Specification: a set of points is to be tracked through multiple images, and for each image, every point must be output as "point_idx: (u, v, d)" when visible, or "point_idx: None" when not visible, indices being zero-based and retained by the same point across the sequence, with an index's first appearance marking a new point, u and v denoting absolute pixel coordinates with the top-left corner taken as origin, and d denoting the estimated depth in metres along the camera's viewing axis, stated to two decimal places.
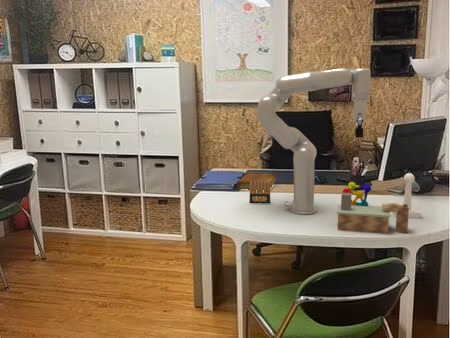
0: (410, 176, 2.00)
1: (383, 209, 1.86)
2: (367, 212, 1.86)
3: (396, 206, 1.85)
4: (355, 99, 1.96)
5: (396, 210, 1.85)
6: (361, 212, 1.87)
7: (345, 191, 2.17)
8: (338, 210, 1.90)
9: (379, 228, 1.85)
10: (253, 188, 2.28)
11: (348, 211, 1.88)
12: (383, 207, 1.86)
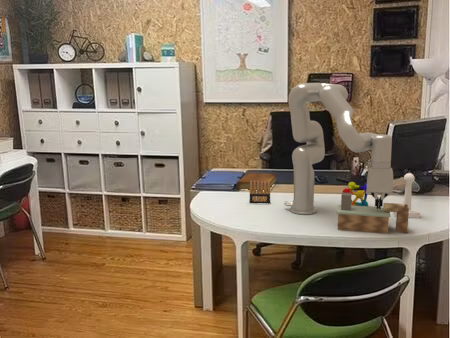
0: (410, 176, 2.00)
1: (384, 209, 1.86)
2: (367, 212, 1.86)
3: (397, 206, 1.84)
4: (388, 168, 1.82)
5: (397, 210, 1.85)
6: (361, 212, 1.87)
7: (345, 191, 2.17)
8: (338, 210, 1.90)
9: (379, 228, 1.85)
10: (253, 188, 2.28)
11: (348, 211, 1.88)
12: (384, 207, 1.86)
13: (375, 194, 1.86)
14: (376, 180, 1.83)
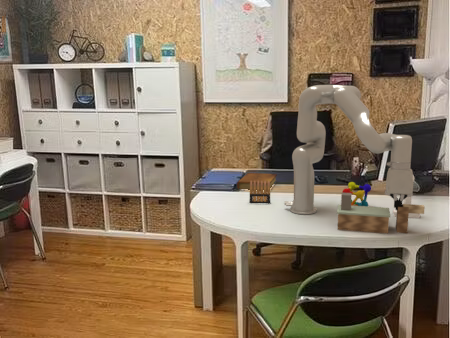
0: None
1: None
2: (367, 212, 1.86)
3: (417, 207, 1.82)
4: (408, 169, 1.79)
5: (417, 211, 1.83)
6: (361, 212, 1.87)
7: (345, 191, 2.17)
8: (338, 210, 1.90)
9: (379, 228, 1.85)
10: (253, 188, 2.28)
11: (348, 211, 1.88)
12: None
13: (394, 195, 1.84)
14: (395, 181, 1.81)
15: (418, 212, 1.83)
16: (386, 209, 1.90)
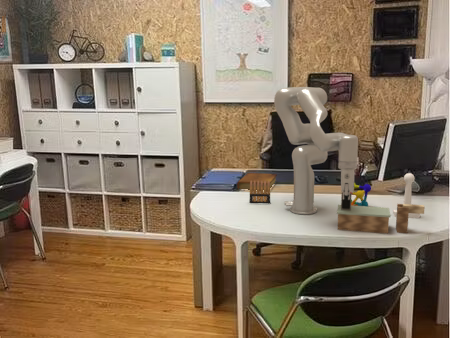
0: (410, 176, 2.00)
1: None
2: (367, 212, 1.86)
3: (417, 207, 1.82)
4: None
5: (417, 211, 1.83)
6: (361, 212, 1.87)
7: None
8: (338, 210, 1.90)
9: (379, 228, 1.85)
10: (253, 188, 2.28)
11: (348, 211, 1.88)
12: None
13: (349, 195, 1.87)
14: None
15: (418, 212, 1.83)
16: (386, 209, 1.90)
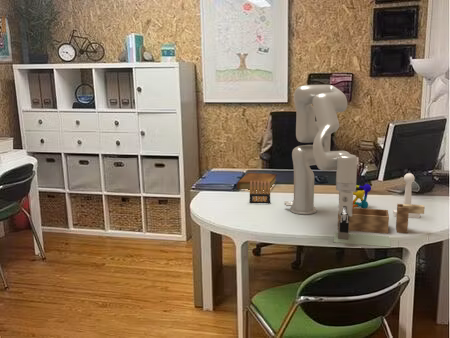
0: (410, 176, 2.00)
1: None
2: (366, 242, 1.74)
3: (417, 207, 1.82)
4: None
5: (417, 211, 1.83)
6: (359, 242, 1.74)
7: None
8: (335, 239, 1.78)
9: (379, 228, 1.85)
10: (253, 188, 2.28)
11: (345, 241, 1.76)
12: None
13: (348, 218, 1.72)
14: (352, 202, 1.74)
15: (418, 212, 1.83)
16: (386, 238, 1.78)
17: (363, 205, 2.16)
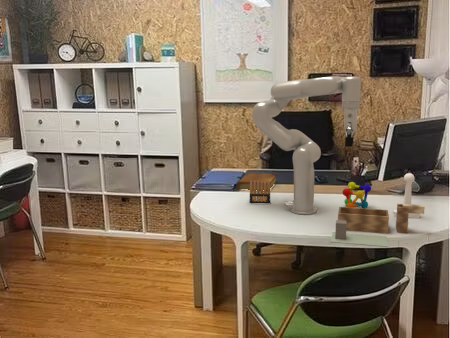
0: (410, 176, 2.00)
1: None
2: (363, 242, 1.74)
3: (417, 207, 1.82)
4: None
5: (417, 211, 1.83)
6: (357, 242, 1.74)
7: (345, 191, 2.17)
8: (332, 239, 1.78)
9: (379, 228, 1.85)
10: (253, 188, 2.28)
11: (343, 240, 1.76)
12: None
13: (352, 132, 1.92)
14: (356, 119, 1.94)
15: (418, 212, 1.83)
16: (383, 238, 1.78)
17: (363, 205, 2.16)
